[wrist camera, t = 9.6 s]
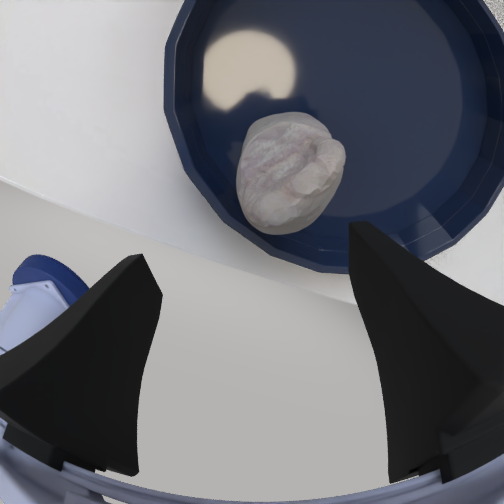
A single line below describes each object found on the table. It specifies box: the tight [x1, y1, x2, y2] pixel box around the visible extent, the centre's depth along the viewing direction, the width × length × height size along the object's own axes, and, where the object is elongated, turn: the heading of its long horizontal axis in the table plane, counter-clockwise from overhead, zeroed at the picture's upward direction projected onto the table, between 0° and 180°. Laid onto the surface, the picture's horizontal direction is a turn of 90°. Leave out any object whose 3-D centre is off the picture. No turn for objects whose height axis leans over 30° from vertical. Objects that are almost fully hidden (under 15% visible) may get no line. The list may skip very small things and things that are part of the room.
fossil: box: [236, 112, 346, 235], centre depth 12 cm, size 6×4×10 cm, turn 154°
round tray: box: [164, 0, 504, 274], centre depth 13 cm, size 22×22×4 cm
